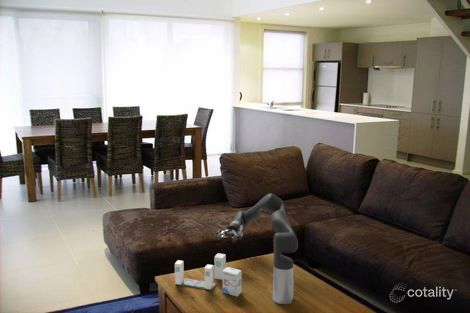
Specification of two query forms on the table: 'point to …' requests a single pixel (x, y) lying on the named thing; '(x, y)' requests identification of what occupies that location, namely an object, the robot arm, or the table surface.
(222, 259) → the white tall block
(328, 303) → the table surface
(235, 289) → the ink box
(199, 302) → the table surface
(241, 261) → the table surface
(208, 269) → the mounted modules
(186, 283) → the rail
